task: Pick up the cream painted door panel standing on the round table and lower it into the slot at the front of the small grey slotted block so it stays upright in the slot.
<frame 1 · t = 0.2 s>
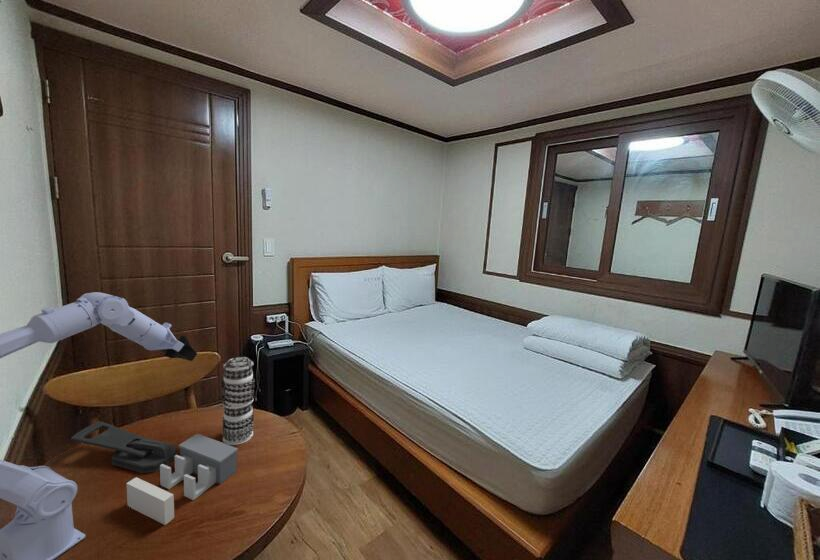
hand: (183, 353, 85), 31 cm above the table, tool tilted 45°, fingers open, 7 cm apart
door panel: (150, 512, 74), on the table
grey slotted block: (185, 486, 81), on the table
zipper pull: (127, 457, 90), on the table
decorative candle: (238, 436, 101), on the table
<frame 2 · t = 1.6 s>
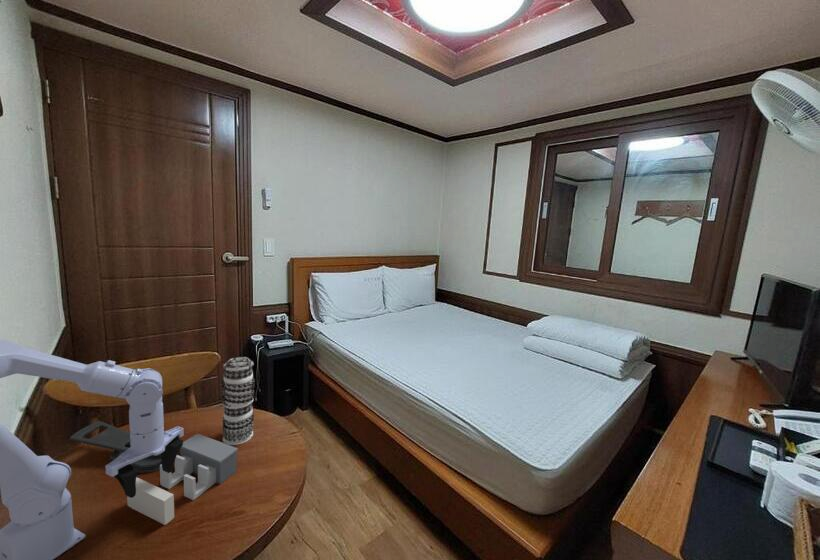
hand: (149, 482, 73), 7 cm above the table, tool pointing down, fingers open, 7 cm apart
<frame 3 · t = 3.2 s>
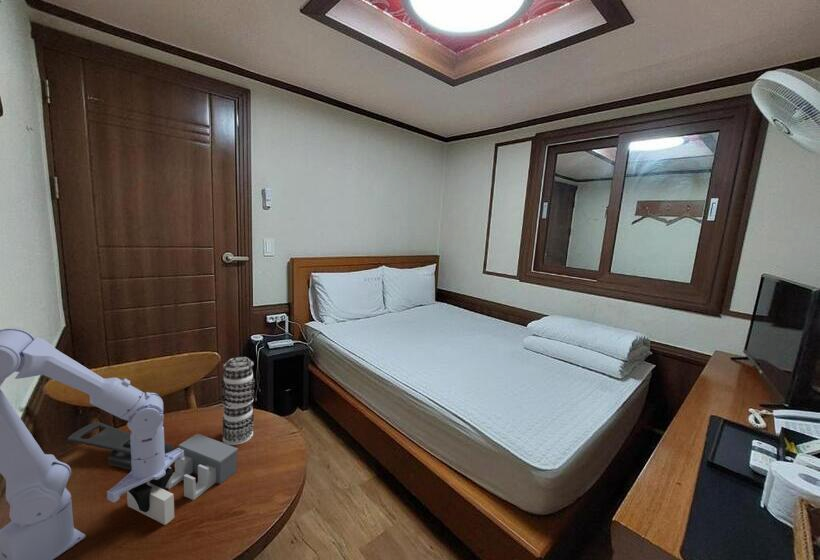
hand: (150, 505, 74), 2 cm above the table, tool pointing down, fingers closed on door panel, 2 cm apart
door panel: (150, 511, 74), on the table, touching gripper
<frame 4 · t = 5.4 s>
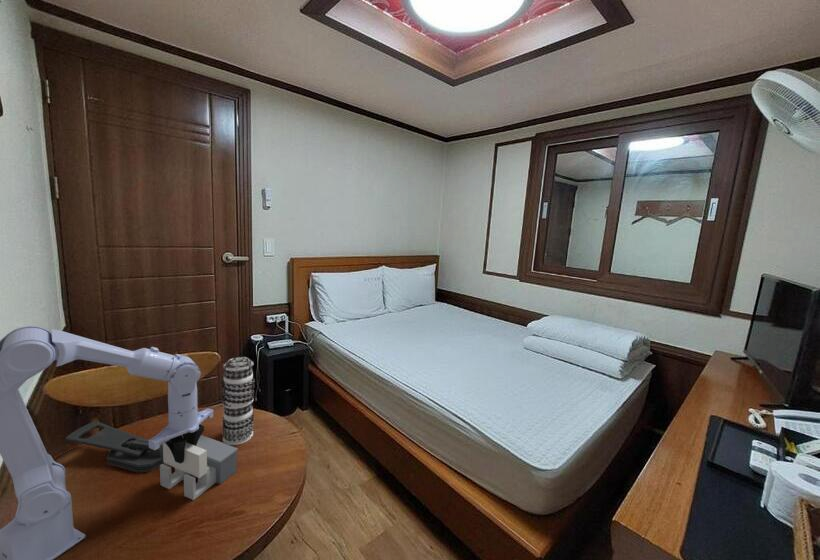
hand: (184, 458, 80), 8 cm above the table, tool pointing down, fingers closed on door panel
door panel: (185, 467, 81), point 5 cm above the table, touching gripper
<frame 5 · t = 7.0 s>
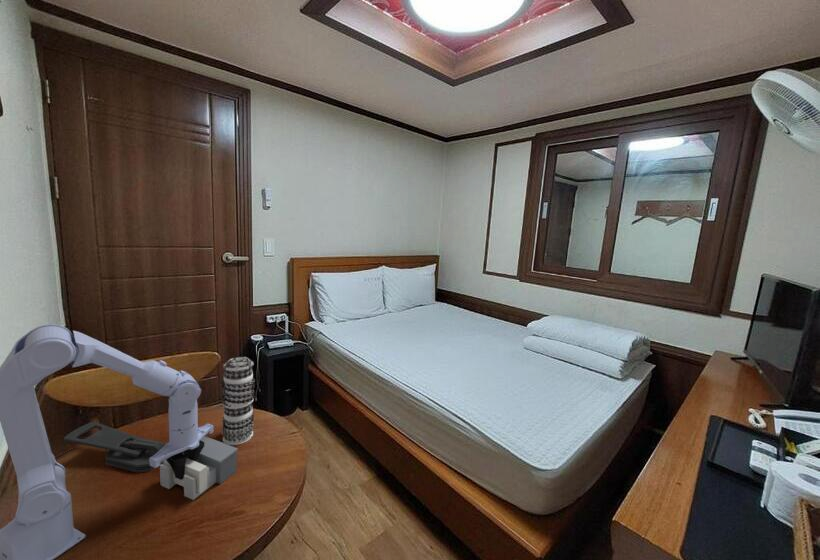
hand: (184, 474, 81), 3 cm above the table, tool pointing down, fingers closed on door panel, 2 cm apart
door panel: (185, 482, 81), point 1 cm above the table, touching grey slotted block, gripper
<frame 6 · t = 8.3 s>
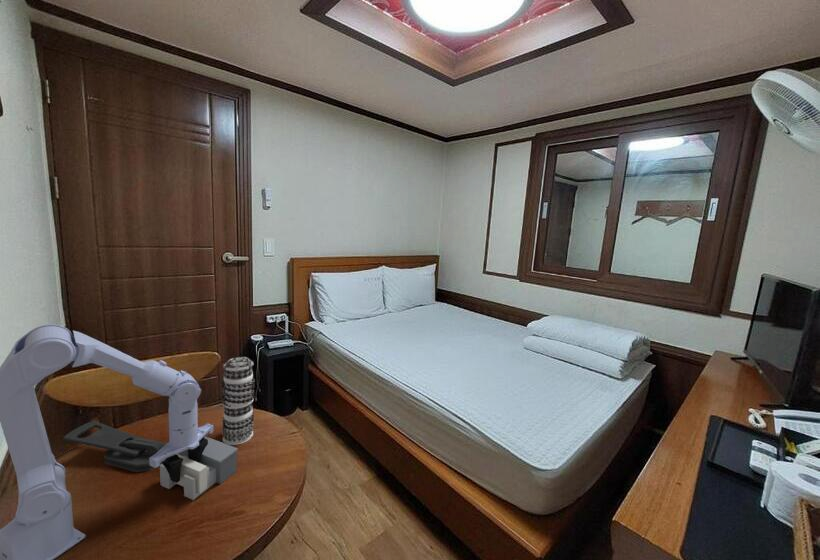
hand: (184, 474, 81), 3 cm above the table, tool pointing down, fingers open, 4 cm apart
door panel: (185, 482, 81), point 1 cm above the table, touching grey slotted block
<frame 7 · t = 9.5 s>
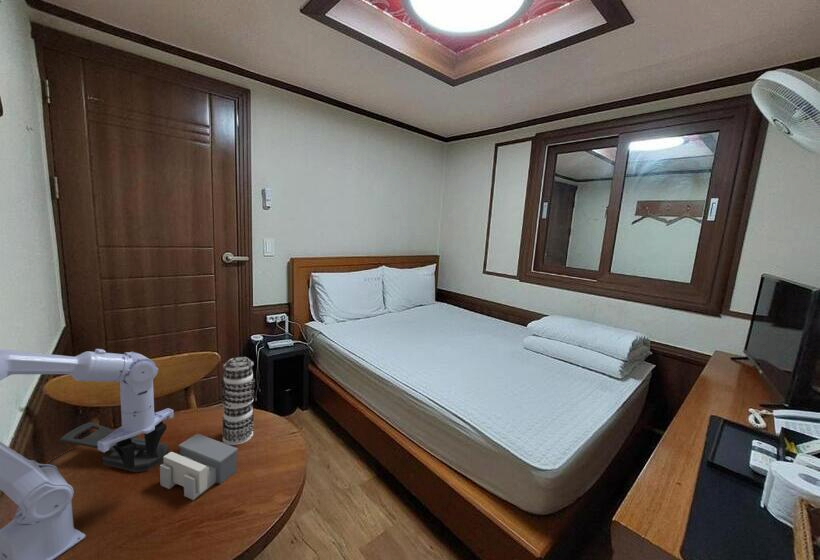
hand: (140, 460, 76), 9 cm above the table, tool pointing down, fingers open, 4 cm apart
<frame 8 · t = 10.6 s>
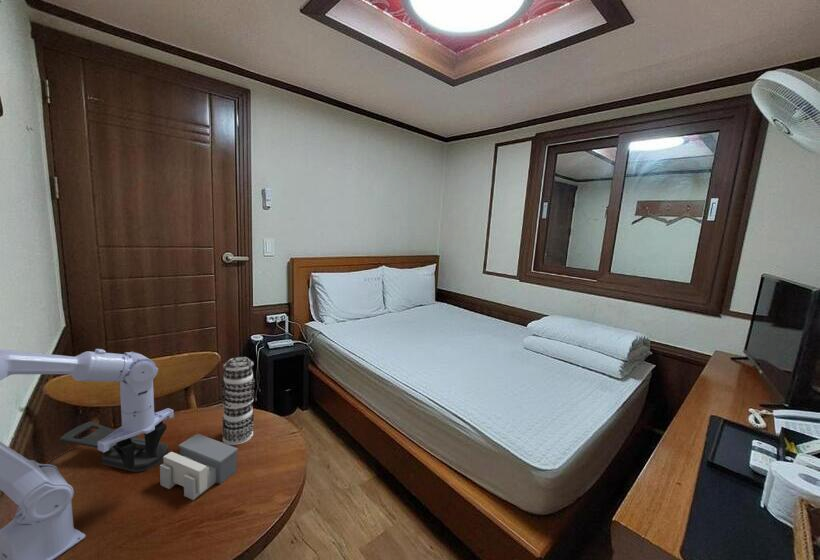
hand: (140, 460, 76), 9 cm above the table, tool pointing down, fingers open, 4 cm apart
at the end: door panel 0.2 cm off-centre on the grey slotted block, point 1.0 cm above the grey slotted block's base; door panel tilted 0°; the gripper is holding nothing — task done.
